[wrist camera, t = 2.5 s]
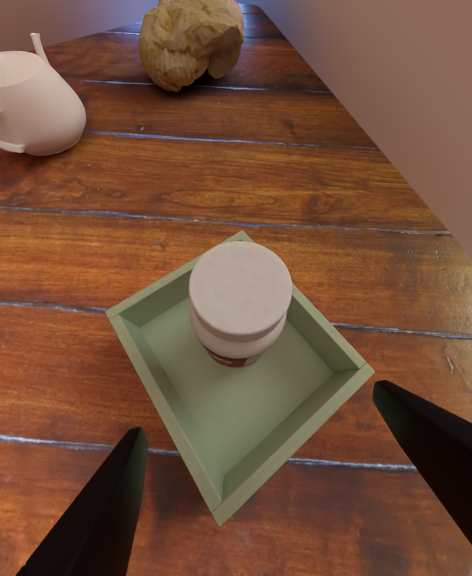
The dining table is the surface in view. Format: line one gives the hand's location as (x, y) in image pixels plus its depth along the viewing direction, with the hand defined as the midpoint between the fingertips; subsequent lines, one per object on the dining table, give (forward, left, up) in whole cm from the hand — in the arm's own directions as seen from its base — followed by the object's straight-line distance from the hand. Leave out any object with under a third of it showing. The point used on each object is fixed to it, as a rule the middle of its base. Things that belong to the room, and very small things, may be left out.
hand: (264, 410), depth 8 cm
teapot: (+46, +1, -12) cm, 47 cm away
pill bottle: (+5, -3, -12) cm, 13 cm away
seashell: (+47, -25, -12) cm, 54 cm away
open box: (+4, -2, -12) cm, 13 cm away
